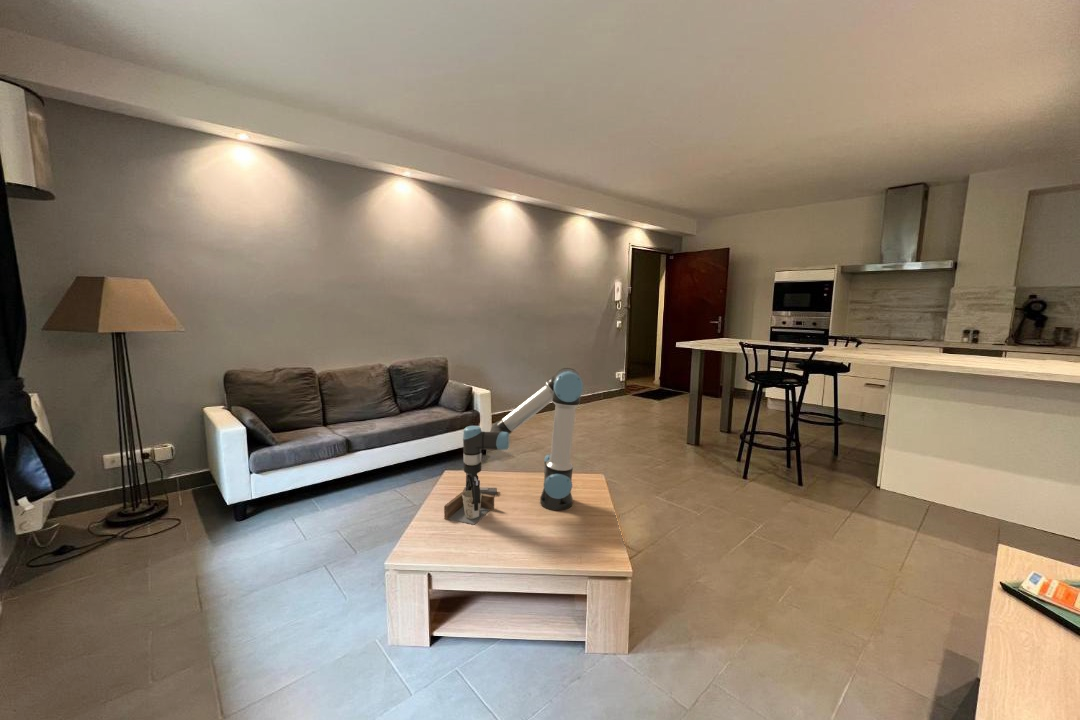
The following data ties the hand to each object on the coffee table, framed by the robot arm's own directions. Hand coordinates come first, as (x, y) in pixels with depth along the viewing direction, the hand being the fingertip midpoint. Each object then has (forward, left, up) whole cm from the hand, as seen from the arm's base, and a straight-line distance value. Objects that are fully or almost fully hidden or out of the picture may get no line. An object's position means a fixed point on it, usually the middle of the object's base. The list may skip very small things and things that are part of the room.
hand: (473, 512), depth 185 cm
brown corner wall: (+2, -1, -2) cm, 3 cm away
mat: (+2, -1, -2) cm, 3 cm away
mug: (0, -1, -1) cm, 2 cm away
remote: (+8, -21, -2) cm, 23 cm away
